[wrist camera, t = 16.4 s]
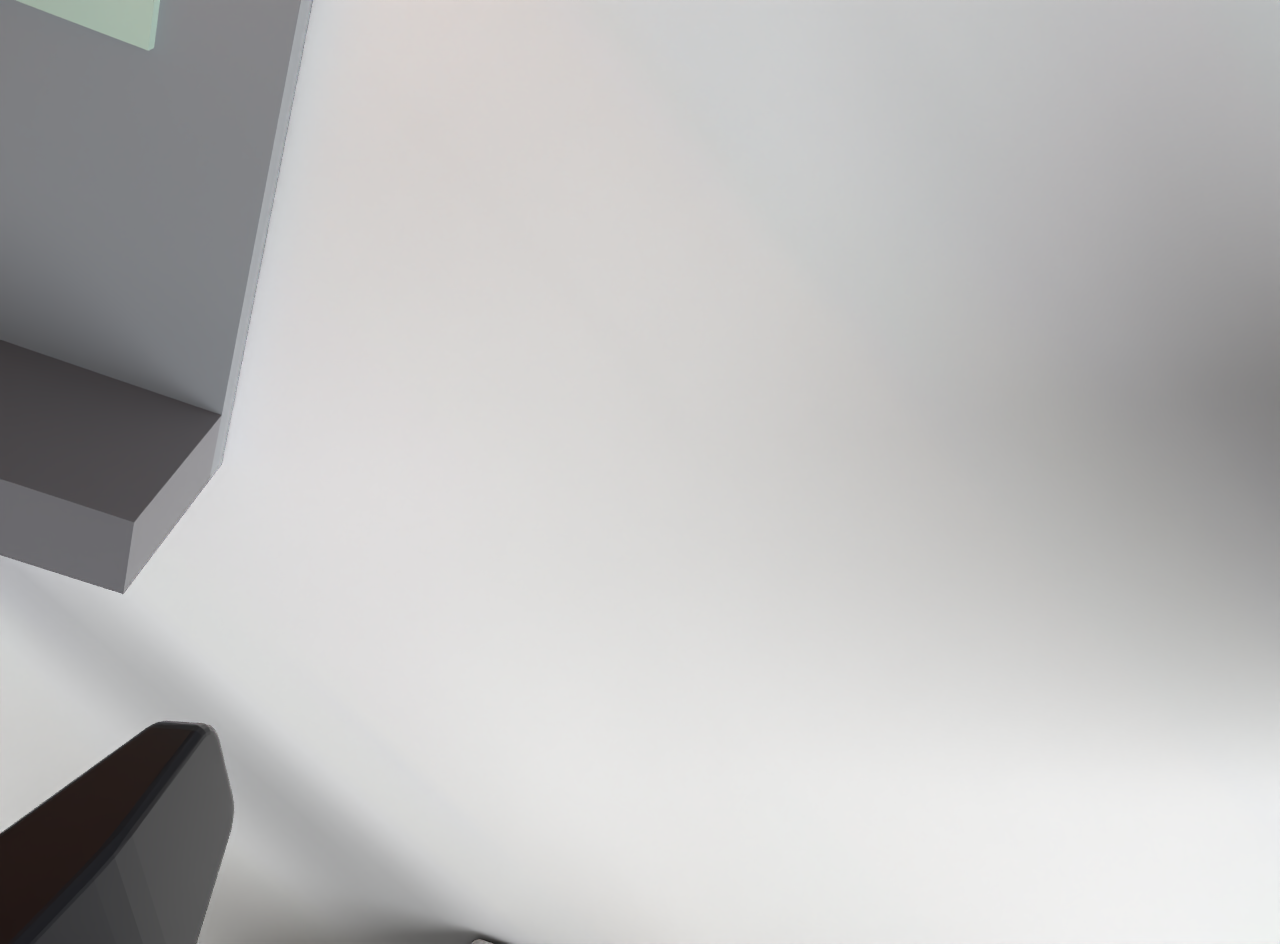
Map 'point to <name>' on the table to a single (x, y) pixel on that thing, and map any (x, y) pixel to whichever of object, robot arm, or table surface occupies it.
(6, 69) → the tray
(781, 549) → the table surface
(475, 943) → the coffee box
